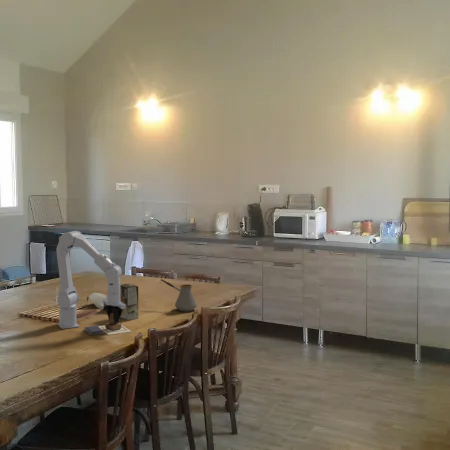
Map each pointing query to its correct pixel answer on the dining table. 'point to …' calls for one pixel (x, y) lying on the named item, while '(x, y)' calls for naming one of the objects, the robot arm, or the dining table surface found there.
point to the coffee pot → (184, 298)
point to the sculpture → (98, 299)
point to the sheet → (110, 332)
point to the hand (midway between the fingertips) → (114, 322)
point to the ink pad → (94, 330)
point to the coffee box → (129, 301)
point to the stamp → (112, 324)
